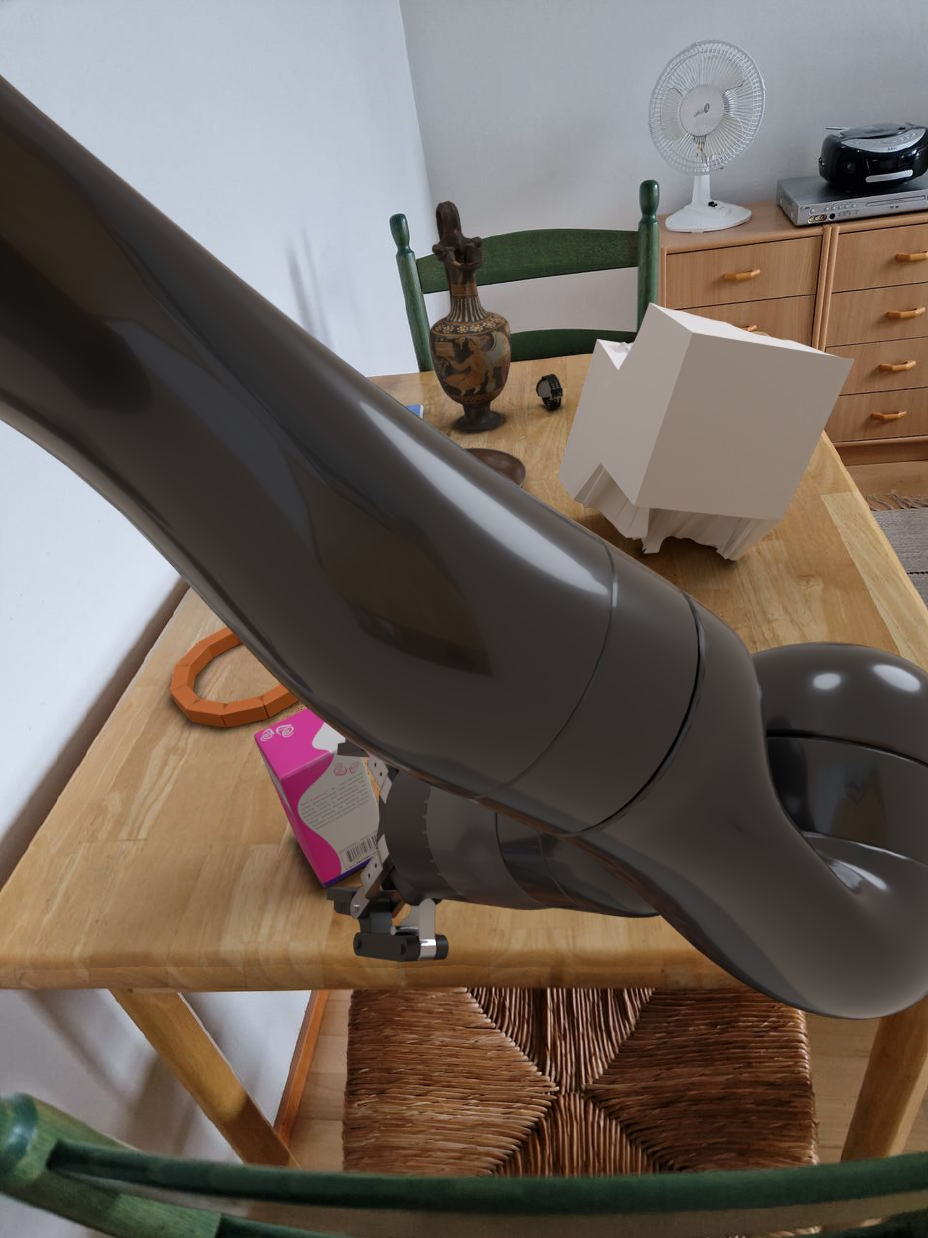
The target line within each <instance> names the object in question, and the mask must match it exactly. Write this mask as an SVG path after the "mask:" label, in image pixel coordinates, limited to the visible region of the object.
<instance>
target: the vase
mask: <svg viewBox="0 0 928 1238" xmlns="http://www.w3.org/2000/svg"><path fill="white" fill-rule="evenodd" d="M435 220H436V222H435V223H436V230H437V234H438V239H439V241H438V242H437V243H433V244H432V246H431V252H432V253H433V254H434V256H436V258H437V261H439V262H441V263H443V265H444V270H445V277H446V282H447V287H448V293H449V305H450V308H449V309H450V310H449V313H448V314H447V315H446V316H444V317H442V318H440V319H439V320H437V321H436V322H435V323H434V324H432V326H430V329H429V334H428V346H429V352H430V358H431V363H432V366H433V370H434V372H435V375H436V378H437V380H438V382H439V384H440V386H441V388H442V390H443V392H444V393H445V394H446V395H447V397H448V398H449V399H451V400H452V401H454V402H455V403H457V404H459V405H460V406H462V408H463V415H462V416H460V417H459V418H458V419H456V421H455V428H456V429H457V430H459V431H461V432H465V433H466V432H467V433H478V432H479V433H481V432H486V431H489V430H493V429H495V428H497V427H499V426H500V425H501V424H502V423H503V420H504V419H503V417H502V415H501V414H500V413H499V412H497V411H495V410H491V405H492V402H493V401H494V400H495V399H496V398H497V397H499V396H500V395H501V393H502V392H503V391H504V389H505V386H506V384H507V381H508V377H509V375H510V368H511V361H512V333H511V327H510V324H509V321H508V320H507V319H506V318H505V317H504V316H503V315H501V314H499V313H496V312H492V311H488V310H486V309H485V308H484V307H483V305H482V304H481V300H480V297H479V292H478V286H477V285H478V284H477V276H476V275H477V274H476V270H478V269H480V268H481V267H483V265H484V264H485V257H484V253H483V251H482V250H481V249H480V248H481V247H483V245H484V240H483V239H482V237H480V236H475V237H472V238H471V237H466V236H465V235H464V233H463V232H462V231H463V229H462V224H461V217H460V212H459V209H458V207H457V206H456V204H455V203H454V202H452V201H451V200H446V201H443V202H439V203H438V204H437V206H436V208H435Z"/></svg>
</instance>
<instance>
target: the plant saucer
mask: <svg viewBox="0 0 928 1238" xmlns="http://www.w3.org/2000/svg"><path fill="white" fill-rule="evenodd" d="M463 448H464V449H465V450H467V451H468V452H470V453H471V454H472V455H474V456H475V457H477V458H478V459H480V460H481V461H483V462H484V463H486V464H487V465H489V466H490V467H491V468H493V469H494V470H496V471H497V472H499V473H500V474H502V475H503V476H505V477H506V478H508V479H509V480H511V481H512V482H514V483H515V484H517V485H518V486H520V487H521V488H523V486H524V484H525V481H526V479H527V475H528V472H527V471H528V470H527V467H526V464H525V463H524V462H523V460H521V458H519V457H518V456H516V455H515V454H512V453H510V452H507V451H504V450H500V449H495V448H489V447H487V448H486V447H463Z"/></svg>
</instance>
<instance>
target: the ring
mask: <svg viewBox="0 0 928 1238" xmlns="http://www.w3.org/2000/svg"><path fill="white" fill-rule="evenodd" d="M240 644H243V643H242V642H241V641H240V640H239V639H238V638H237V637H236V635H235V634H234V633H233V632H232V631H231V630H230V629H229V628H228V627H227V626H226V627H224V628H222V629H220V630H218V631H216V632H214V633H213V634H211V635H208V636H206V637H205V638H203V639H201V640H199V641H198V642H196V643H195V644H194V645H193V647H191V648H190V649H189V650H188V651H187V653H186V654H185V655H184V656H183V657H182V658H181V659H180V660H179V661H178V662H177V663H176V664H175V666H174V667H173V672H172V678H171V683H170V687H169V693H170V694H171V695H170V696H171V697H172V699H173V701H174V704H175V705H176V706H177V707H178V708H179V709H180V710H181V712H183V714H184V715H185V716H186V717H187V718H188V720H189V721H191V722H193V723H197V724H202V725H203V724H204V725H209V726H215V727H221V728H232V727H236V726H240V725H245V724H250V723H254V722H259V721H264V720H268V719H269V718H272V717H273V716H275V715H277V714H278V713H281V712H282V711H283V710H285V709H287V708H288V707H290V706H293V705H294V704H295V703H297V702H300V701H299V700H298V699H297V698H295V697H294V696H293V695H292V694H291V693H290V692H289V691H288V690H287V689H286V688H285V687H284V686H283V685H282V684H281V683H280V684H278V685H277V686H275V687H273V688H271V689H269V690H268V691H266V692H265V693H263V694H261V695H258V696H253V697H248V698H243V699H239V700H235V701H230V702H221V701H215V700H214V701H213V700H209V699H202V698H200V697H199V696H198V695H197V694H196V693H195V692H194V685H195V679H196V677H197V676H198V675H199V674H200V672H201V671H202V670H203V669H204V668H205V667H206V666H207V665H208V663H209V662H210V661H211V660H212V659H213V658H215V657H217V656H219V655H221V654H222V653H225V652H226V651H229V650H231V649H232V648H235V647H236V646H237V645H240Z"/></svg>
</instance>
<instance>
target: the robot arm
mask: <svg viewBox="0 0 928 1238" xmlns="http://www.w3.org/2000/svg"><path fill="white" fill-rule="evenodd" d="M405 406H406V405H404V404H403V403H401V402H400V401H399V400H398V399H396V398H394V397H393V396H392V395H391V394H389V393H388V392H387V391H385V389H383V388H381V387H380V386H379V385H378V384H376V383H375V382H373V380H370V379H369V378H368V377H367V376H365V375H364V374H363V373H361V372H360V371H358V370H357V369H356V368H355V367H353V366H352V365H350V364H349V363H348V362H346V360H344V359H343V358H341V357H340V356H339V355H338V354H336V353H335V352H334V351H333V350H331V349H330V348H329V347H328V346H326V345H325V344H324V343H323V342H321V341H320V340H319V339H317V338H316V337H315V336H314V335H312V334H311V333H310V332H308V330H306V329H305V328H304V327H302V325H300V324H299V323H297V322H296V321H295V320H294V319H292V318H291V316H289V315H287V313H285V312H284V311H283V310H282V309H280V308H278V306H277V305H275V304H274V303H272V301H270V300H269V299H268V298H267V297H265V296H264V295H262V293H260V291H258V290H256V288H254V287H253V286H252V285H250V284H249V283H248V282H247V281H246V280H244V279H243V278H242V277H241V276H239V275H238V274H237V273H236V272H235V271H234V270H232V269H231V268H230V267H228V266H227V265H226V264H225V263H223V262H222V261H221V260H219V258H218V257H217V256H215V255H214V254H213V253H211V252H210V250H208V249H207V248H206V247H205V246H203V245H202V244H201V243H200V242H198V240H196V239H195V238H194V237H193V236H192V235H190V233H188V232H187V231H186V230H185V229H183V228H182V227H181V226H180V225H178V224H177V223H176V222H175V221H174V220H173V219H171V218H170V217H169V216H168V215H167V214H165V213H164V212H163V211H162V210H160V209H159V208H158V207H157V206H156V205H155V204H154V203H152V202H151V201H150V200H149V199H148V198H146V197H145V196H144V195H143V194H142V193H140V192H139V191H138V190H137V189H136V188H135V187H133V186H132V185H131V184H130V183H129V182H128V181H126V180H125V179H124V178H123V177H122V176H120V175H119V174H118V172H116V171H114V170H113V169H112V168H111V167H109V166H108V165H107V164H106V163H105V162H103V161H102V159H100V157H98V156H96V155H95V154H94V153H93V152H92V151H90V150H89V149H88V147H86V146H85V145H84V144H82V143H81V142H80V141H78V139H76V138H75V137H74V136H72V135H71V133H69V132H67V130H66V129H64V128H63V127H61V126H60V125H59V124H58V123H57V122H56V121H54V120H53V118H51V117H50V116H49V115H48V114H46V113H45V112H44V111H43V110H42V109H40V108H39V107H38V106H37V105H36V104H35V103H34V102H32V101H31V100H30V99H29V98H28V97H27V96H26V95H25V94H24V93H23V92H21V91H20V90H19V89H18V88H17V87H15V86H14V84H12V83H11V82H10V81H9V80H8V79H7V78H5V77H4V76H3V75H2V74H1V73H0V421H1V422H3V423H5V424H6V425H7V426H9V427H10V428H12V429H14V430H15V431H17V432H18V433H20V434H21V435H22V436H24V437H26V438H27V439H29V440H30V441H31V442H33V443H35V444H36V445H37V446H39V447H40V448H41V449H43V450H44V451H45V452H46V453H48V454H49V455H51V457H54V458H55V459H56V460H57V461H58V462H60V463H61V464H63V465H64V466H65V467H66V468H68V469H69V470H70V471H71V472H72V473H73V474H74V475H76V476H77V477H78V478H80V480H82V481H83V482H84V483H85V484H87V485H88V486H89V487H90V488H91V489H92V490H93V491H94V492H96V493H97V494H98V495H99V496H100V497H101V498H103V499H104V500H105V501H106V502H107V503H108V504H110V505H111V506H112V507H113V508H114V509H115V510H117V511H118V512H119V513H120V514H121V515H122V517H124V518H125V519H126V520H127V521H128V522H129V523H130V524H131V525H132V526H133V528H135V529H136V530H137V531H138V532H139V533H140V534H141V535H142V536H143V538H145V539H146V541H147V542H148V543H149V544H150V545H151V546H152V547H153V548H154V549H155V550H156V551H157V552H158V553H159V554H160V555H161V556H162V558H164V560H166V561H167V562H168V563H169V564H170V565H171V567H172V568H173V569H174V570H175V571H176V572H177V573H178V575H180V576H181V578H182V579H183V580H184V581H185V582H186V583H187V584H188V585H189V586H190V587H191V589H192V590H193V591H194V592H195V593H196V594H197V596H198V597H199V598H200V599H201V600H202V601H203V602H204V603H205V604H206V605H207V606H208V608H209V609H210V610H211V611H212V613H214V614H215V616H217V617H218V619H219V620H220V621H221V622H222V623H223V624H224V625H225V626H226V627H228V628H229V629H230V630H231V631H232V632H233V633H234V634H235V635H236V637H237V638H238V639H239V640H240V641H241V642H242V643H241V644H243V645H244V646H245V648H247V650H248V651H249V652H250V653H251V654H252V656H254V658H256V660H257V661H258V662H259V663H260V664H261V665H262V666H263V668H265V670H266V671H268V673H269V674H270V675H272V677H274V678H275V680H277V681H278V682H279V683H280V684H282V685H283V686H284V687H285V688H286V689H287V690H288V691H289V692H290V693H291V694H292V695H293V696H294V697H295V698H297V699H298V700H299V701H298V702H300V703H301V704H302V705H303V706H304V707H305V708H308V709H309V710H310V711H311V712H313V713H314V714H315V715H316V716H317V717H318V718H320V719H321V720H322V721H324V722H325V723H326V724H327V725H329V726H330V727H331V728H333V729H334V730H335V731H337V732H338V733H339V734H341V735H342V736H343V737H345V742H343V743H338V746H337V755H341V756H352V757H362V758H368V759H367V762H366V768H368V771H369V772H370V774H371V775H372V777H373V779H374V781H375V782H376V784H377V786H378V788H379V789H380V790H379V791H378V803H377V804H378V807H379V825H378V831H377V840H376V849H377V851H376V852H375V854H374V855H373V857H372V858H371V860H370V861H369V863H368V864H367V865H365V866H364V869H363V870H362V871H361V873H360V875H359V880H360V883H361V886H359V887H358V886H329V887H326V900H327V901H331V902H333V910H334V911H335V913H336V914H339V915H345V916H349V917H351V918H352V920H357V921H358V925H359V931H358V932H356V933H355V934H354V935H353V940H352V949H353V953H354V955H355V956H357V957H362V958H370V959H377V960H384V961H389V962H398V963H410V962H429V961H444V960H446V959H447V957H448V956H449V951H450V944H449V940H448V938H447V936H446V935H445V934H440V933H436V906H437V905H439V904H441V902H443V901H444V900H445V901H450V902H451V901H452V902H460V903H467V904H473V905H481V906H489V907H496V908H503V909H509V910H516V911H517V910H518V911H542V910H553V909H555V910H557V909H559V910H564V911H565V910H566V911H571V912H572V911H573V912H580V913H588V914H596V915H603V916H611V917H617V918H628V919H648V918H649V919H650V918H656V917H661V918H662V919H663V920H665V922H667V923H668V924H669V925H670V926H671V927H672V928H673V929H674V930H675V931H676V932H677V933H678V934H679V935H681V937H683V939H685V940H686V941H687V942H688V943H689V944H690V945H691V946H693V948H695V950H697V951H698V952H700V953H701V954H702V955H703V956H705V957H706V959H708V960H710V961H711V962H712V963H714V964H715V965H716V966H718V967H719V968H720V969H721V970H723V971H724V972H725V973H727V974H729V975H730V976H731V977H733V978H734V979H736V980H737V981H739V982H741V983H742V984H744V985H746V986H747V987H749V988H750V989H752V990H754V991H756V992H758V993H759V994H761V995H763V996H765V997H767V998H769V999H771V1000H773V1001H776V1002H778V1003H780V1004H783V1005H786V1006H788V1007H791V1008H792V1009H795V1010H798V1011H802V1012H805V1013H807V1014H808V1013H809V1014H812V1015H815V1016H819V1017H823V1018H824V1017H825V1018H830V1019H836V1020H848V1021H849V1020H850V1021H851V1020H852V1021H866V1020H874V1019H880V1018H881V1019H882V1018H884V1017H888V1016H892V1015H896V1014H898V1013H900V1012H902V1011H904V1010H906V1009H908V1008H911V1007H912V1006H914V1005H916V1004H917V1003H919V1002H920V1001H922V1000H923V999H924V998H925V997H926V996H928V671H926V670H925V669H924V668H922V667H920V666H918V665H917V664H915V663H914V662H912V661H910V660H909V659H907V658H905V657H903V656H900V655H898V654H896V653H892V652H889V651H886V650H884V649H881V648H878V647H876V646H875V647H874V646H871V645H865V644H860V643H853V642H852V643H851V642H845V641H843V642H842V641H832V640H831V641H830V640H829V641H828V640H827V641H825V640H824V641H822V640H820V641H807V642H798V643H790V644H784V645H779V646H775V647H774V646H773V647H771V648H767V649H763V650H760V651H757V652H754V653H751V652H750V651H749V649H748V647H747V645H746V643H745V641H744V640H743V638H741V636H740V635H739V633H738V632H737V631H736V629H734V628H733V626H731V624H729V623H728V622H727V621H726V620H725V619H724V618H723V617H722V616H721V615H719V614H718V613H717V612H716V611H715V610H713V609H712V608H711V607H709V606H708V605H706V603H704V602H702V601H701V600H699V599H697V598H696V597H695V596H693V595H692V594H690V593H689V592H687V591H685V590H684V589H682V588H680V587H679V586H677V585H676V584H674V583H673V582H671V581H670V580H669V579H667V578H665V577H664V576H663V575H661V574H659V573H658V572H657V571H654V570H653V569H651V568H650V567H648V566H647V565H645V564H644V563H642V562H641V561H639V560H638V559H636V558H635V557H632V556H631V555H630V554H628V553H626V552H625V551H623V550H621V549H620V548H619V547H617V546H616V545H614V544H612V543H611V542H610V541H608V540H606V539H604V538H603V537H601V536H600V535H598V534H597V533H595V532H594V531H591V530H590V529H588V528H587V527H585V526H584V525H582V524H581V523H579V522H577V521H576V520H574V519H572V518H571V517H569V516H568V515H566V514H565V513H563V512H561V511H560V510H558V509H556V508H554V507H553V506H552V505H550V504H548V503H546V502H545V501H543V500H542V499H540V498H539V497H537V496H535V495H533V494H532V493H530V492H529V491H528V490H526V489H525V488H523V487H522V488H521V487H520V486H518V485H517V484H515V483H514V482H512V481H511V480H509V479H508V478H506V477H505V476H503V475H502V474H500V473H499V472H497V471H496V470H494V469H493V468H491V467H490V466H489V465H487V464H486V463H484V462H483V461H481V460H480V459H478V458H477V457H475V456H474V455H472V454H471V453H470V452H468V451H467V450H465V449H464V448H465V447H462V446H461V445H460V444H458V443H457V442H456V441H454V440H453V439H451V438H450V437H448V436H447V435H446V434H445V433H443V432H442V431H440V430H439V429H437V428H436V427H435V426H433V425H432V424H431V423H429V422H428V421H426V420H425V419H424V418H423V419H422V418H420V417H419V416H418V415H416V414H415V413H413V412H412V411H411V410H409V409H408V408H407V407H405ZM405 905H408V906H410V909H409V913H408V915H407V916H406V917H404V918H402V920H401V921H400V923H399V925H393V919H395V918H397V917H398V915H399V914H400V912H401V911H402V910H403V908H404V907H405Z"/></svg>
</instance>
